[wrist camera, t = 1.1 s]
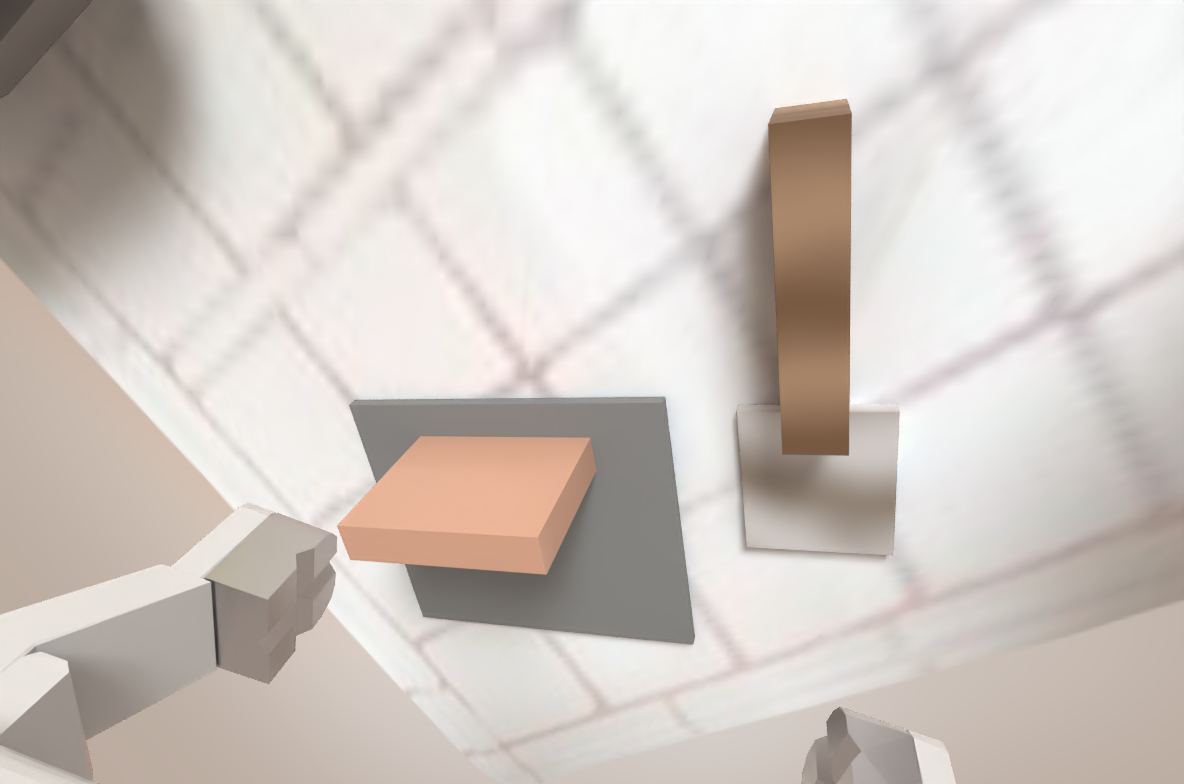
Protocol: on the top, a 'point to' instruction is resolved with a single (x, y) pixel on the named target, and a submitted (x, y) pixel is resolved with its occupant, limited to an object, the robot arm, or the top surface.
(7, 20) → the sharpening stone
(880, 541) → the turner
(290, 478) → the top surface
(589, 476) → the tile
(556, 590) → the mat
